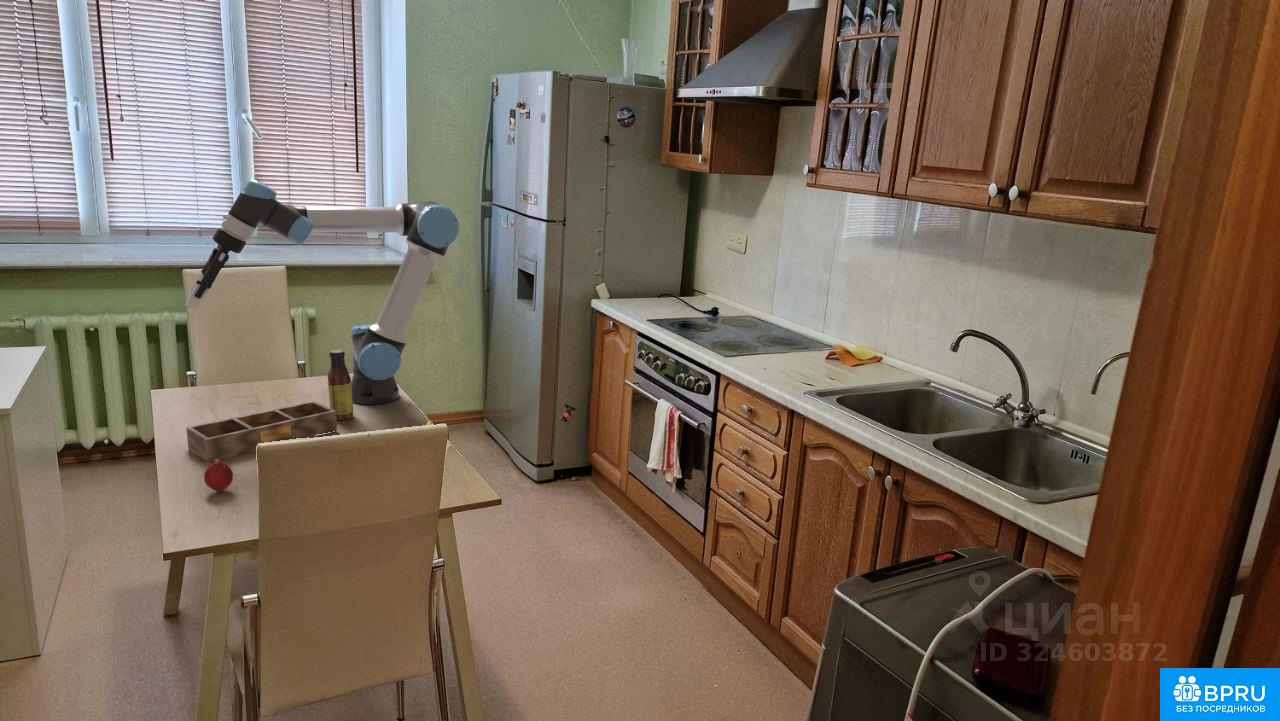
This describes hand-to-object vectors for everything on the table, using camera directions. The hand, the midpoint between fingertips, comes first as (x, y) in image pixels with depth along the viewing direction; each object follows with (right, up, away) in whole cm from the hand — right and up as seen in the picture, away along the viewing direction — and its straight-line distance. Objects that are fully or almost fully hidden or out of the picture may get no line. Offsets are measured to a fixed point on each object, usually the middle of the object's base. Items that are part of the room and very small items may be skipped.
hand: (191, 301), depth 219 cm
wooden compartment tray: (+20, -37, -1) cm, 42 cm away
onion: (+24, -46, -33) cm, 61 cm away
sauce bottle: (+33, -32, +19) cm, 50 cm away
